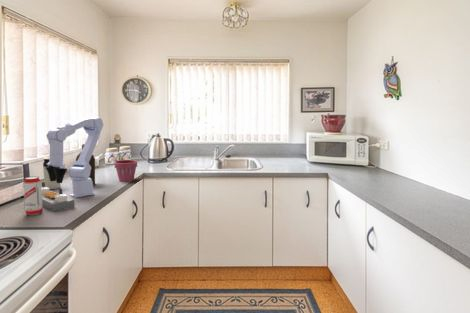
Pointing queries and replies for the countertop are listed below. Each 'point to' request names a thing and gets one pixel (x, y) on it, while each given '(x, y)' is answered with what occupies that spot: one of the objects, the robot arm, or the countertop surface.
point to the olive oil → (91, 163)
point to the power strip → (56, 203)
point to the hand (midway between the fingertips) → (56, 182)
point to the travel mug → (46, 176)
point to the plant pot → (125, 169)
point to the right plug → (60, 196)
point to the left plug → (44, 190)
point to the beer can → (33, 195)
